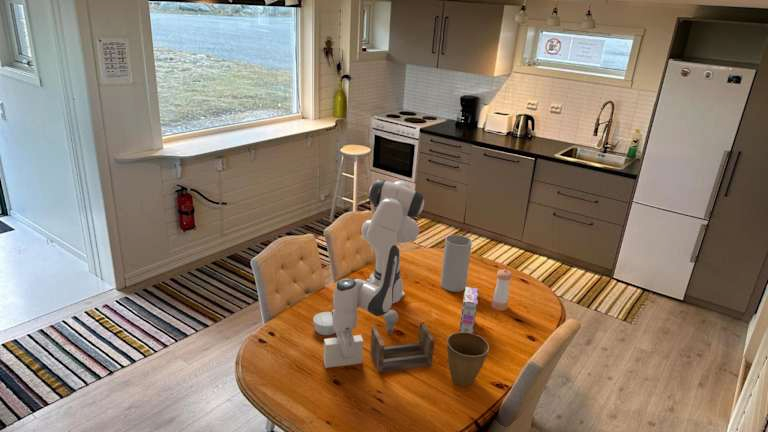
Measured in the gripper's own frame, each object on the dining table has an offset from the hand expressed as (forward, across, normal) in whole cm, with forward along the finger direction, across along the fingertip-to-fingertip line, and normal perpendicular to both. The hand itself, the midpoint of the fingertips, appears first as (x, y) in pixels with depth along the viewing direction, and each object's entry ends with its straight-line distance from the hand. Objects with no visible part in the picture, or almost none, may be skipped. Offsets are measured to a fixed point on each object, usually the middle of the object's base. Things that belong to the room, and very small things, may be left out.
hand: (343, 353), depth 201 cm
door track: (+4, -3, -22) cm, 23 cm away
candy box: (+4, +13, -57) cm, 59 cm away
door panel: (+4, 0, 0) cm, 4 cm away
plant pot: (+4, -19, -41) cm, 45 cm away
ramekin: (+4, +23, +2) cm, 24 cm away
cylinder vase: (+4, +49, -66) cm, 82 cm away
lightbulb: (+4, +15, -23) cm, 28 cm away
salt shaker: (+4, +27, -80) cm, 85 cm away
